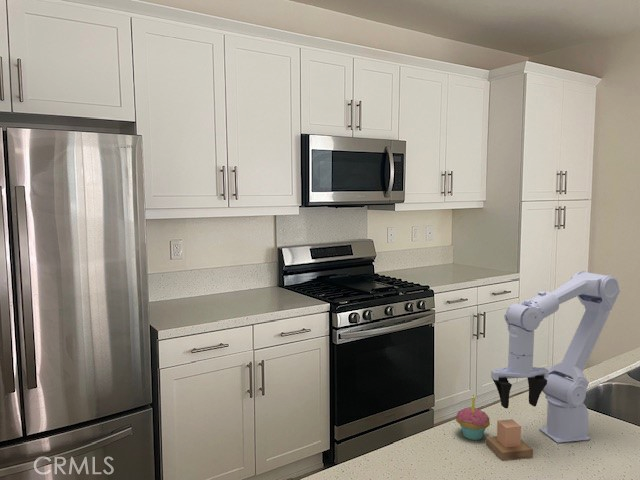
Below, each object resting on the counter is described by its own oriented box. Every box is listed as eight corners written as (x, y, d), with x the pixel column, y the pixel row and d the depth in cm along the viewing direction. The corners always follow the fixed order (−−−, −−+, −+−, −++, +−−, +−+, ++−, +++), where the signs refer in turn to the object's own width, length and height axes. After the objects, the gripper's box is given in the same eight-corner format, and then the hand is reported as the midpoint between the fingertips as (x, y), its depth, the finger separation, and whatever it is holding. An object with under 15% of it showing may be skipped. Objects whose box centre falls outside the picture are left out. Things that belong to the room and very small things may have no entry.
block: (520, 446, 125) (521, 426, 124) (505, 447, 124) (505, 427, 124) (511, 438, 129) (512, 419, 128) (496, 439, 128) (497, 420, 128)
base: (514, 441, 131) (514, 434, 131) (532, 457, 123) (533, 449, 123) (485, 444, 130) (485, 437, 130) (502, 460, 122) (502, 452, 122)
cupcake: (491, 444, 130) (492, 398, 129) (456, 441, 131) (457, 396, 130) (487, 429, 138) (488, 386, 137) (454, 427, 140) (455, 384, 139)
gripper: (537, 347, 132) (535, 398, 133) (485, 349, 130) (483, 401, 131) (554, 355, 125) (552, 409, 126) (500, 357, 123) (498, 412, 124)
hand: (518, 405), depth 128 cm, fingers open, 7 cm apart
